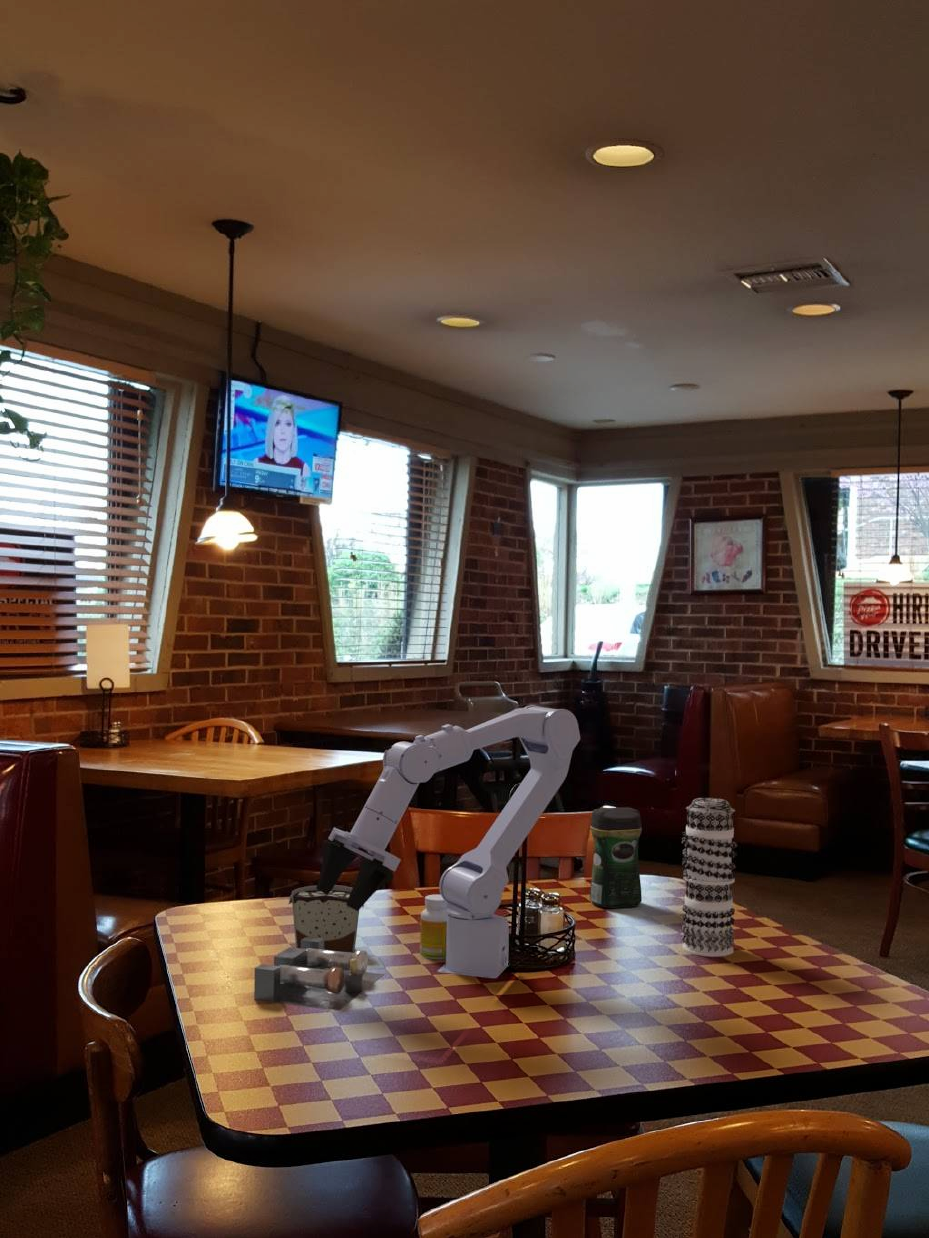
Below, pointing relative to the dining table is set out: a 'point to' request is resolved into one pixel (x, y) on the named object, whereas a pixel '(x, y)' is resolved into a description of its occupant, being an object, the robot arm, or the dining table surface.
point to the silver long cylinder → (337, 959)
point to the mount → (273, 991)
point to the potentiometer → (353, 978)
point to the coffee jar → (615, 858)
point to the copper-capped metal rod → (313, 978)
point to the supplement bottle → (433, 928)
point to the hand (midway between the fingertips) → (336, 899)
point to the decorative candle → (708, 878)
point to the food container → (325, 917)
